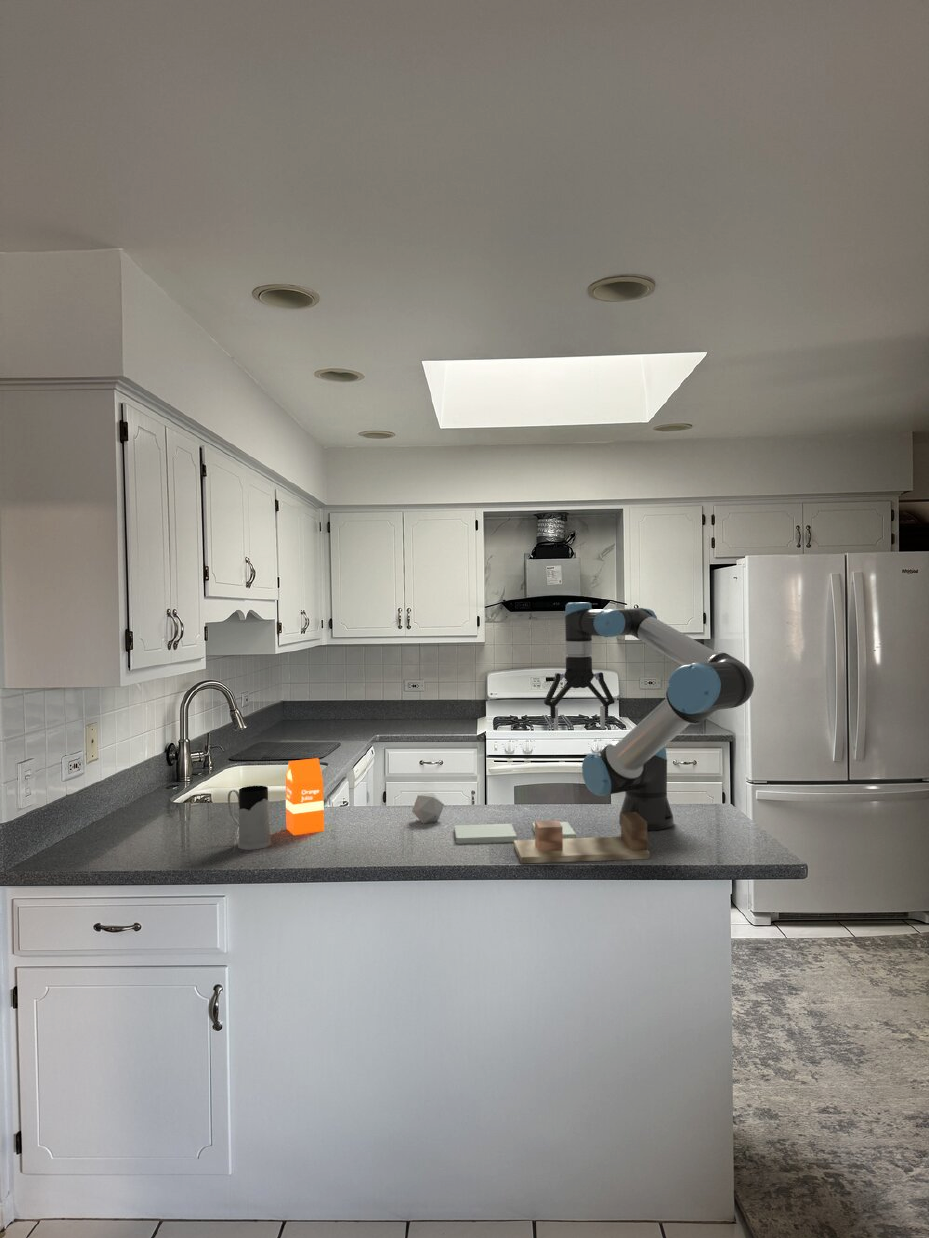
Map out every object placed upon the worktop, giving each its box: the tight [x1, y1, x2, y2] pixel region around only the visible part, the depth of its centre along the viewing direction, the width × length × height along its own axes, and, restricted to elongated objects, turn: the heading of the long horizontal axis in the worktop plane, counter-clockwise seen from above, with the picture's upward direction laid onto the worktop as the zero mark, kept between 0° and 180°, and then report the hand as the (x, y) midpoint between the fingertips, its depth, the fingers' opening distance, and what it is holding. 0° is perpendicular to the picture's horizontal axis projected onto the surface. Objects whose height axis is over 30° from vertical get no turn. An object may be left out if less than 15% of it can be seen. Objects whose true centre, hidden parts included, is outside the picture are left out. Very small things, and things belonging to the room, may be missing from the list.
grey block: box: [411, 792, 445, 824], centre depth 239 cm, size 8×9×10 cm
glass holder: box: [227, 785, 272, 851], centre depth 220 cm, size 9×14×15 cm, turn 57°
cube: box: [534, 819, 563, 851], centre depth 207 cm, size 6×6×6 cm
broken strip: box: [453, 821, 577, 845], centre depth 224 cm, size 32×12×2 cm, turn 94°
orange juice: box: [285, 757, 325, 836], centre depth 231 cm, size 8×9×20 cm
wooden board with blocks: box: [513, 812, 651, 864], centre depth 208 cm, size 32×14×8 cm, turn 94°
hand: (579, 729), depth 236 cm, fingers open, 13 cm apart
